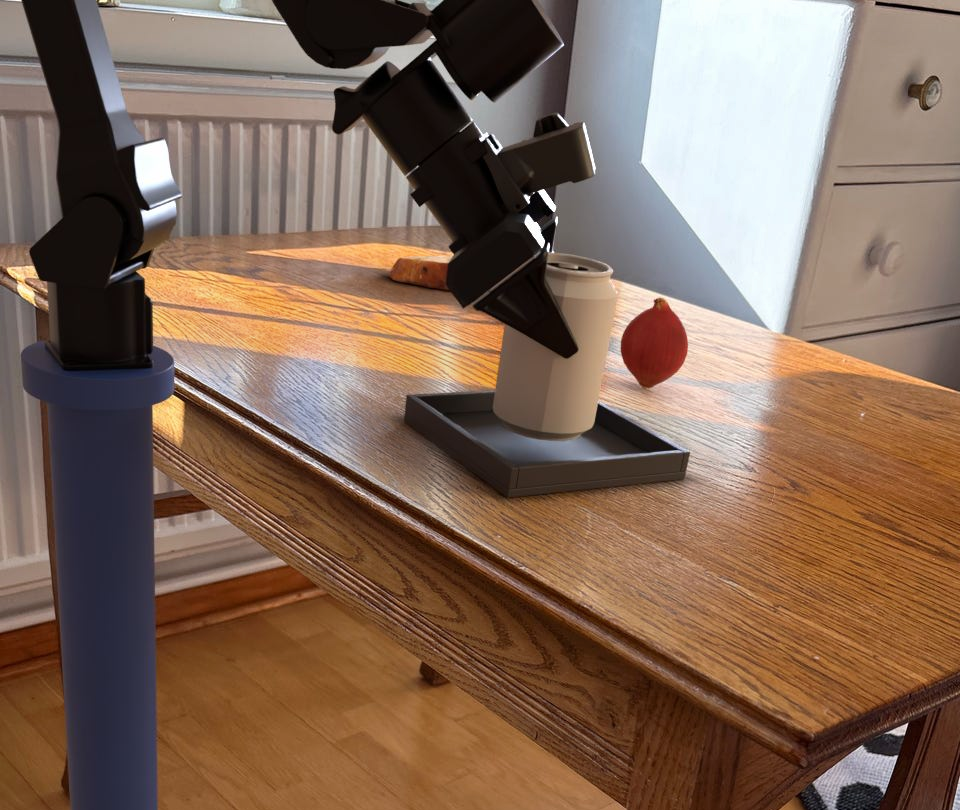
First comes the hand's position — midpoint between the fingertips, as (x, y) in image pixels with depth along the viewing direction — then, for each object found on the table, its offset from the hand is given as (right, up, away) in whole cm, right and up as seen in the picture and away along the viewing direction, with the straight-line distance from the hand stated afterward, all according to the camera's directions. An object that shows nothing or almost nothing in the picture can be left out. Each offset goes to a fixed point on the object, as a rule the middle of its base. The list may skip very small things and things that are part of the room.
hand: (575, 340), depth 83 cm
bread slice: (-6, +18, +50) cm, 53 cm away
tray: (-2, -7, +4) cm, 8 cm away
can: (-2, -6, +3) cm, 7 cm away
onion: (+8, +1, +22) cm, 24 cm away
